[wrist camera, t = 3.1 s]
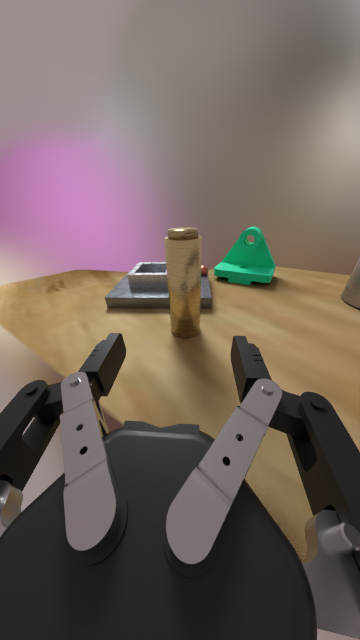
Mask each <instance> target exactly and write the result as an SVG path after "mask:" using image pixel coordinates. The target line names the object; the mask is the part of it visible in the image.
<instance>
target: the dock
mask: <svg viewBox="0 0 360 640" xmlns="http://www.w3.org/2000/svg"><path fill="white" fill-rule="evenodd" d="M105 300H106V304H107V307H108V308H170V306H169V293H168V280H167V267H166V262H146V263H144V262H143V263H138V264H137V265H136V266H135V267H134V268H133V269H132V270H131V271H129V272H128V274H127V275H126V276H125V277H124V278H123V279H122V280H121V281H120V282H119V283H118V284H117V285H116V286H115V287H114V288H113V289H112V290H111V291H110V293H109V294H108V295H107V296H106V297H105ZM211 301H212V296H211V290H210V284H209V277H208V268H207V267H206V266H201V296H200V308H211Z"/></svg>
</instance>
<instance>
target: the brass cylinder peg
mask: <svg viewBox="0 0 360 640" xmlns="http://www.w3.org/2000/svg"><path fill="white" fill-rule="evenodd" d="M164 241H165V254H166V267H167V280H168V293H169V306H170V319H171V331H172V333H173V334H174V335H175V336H177V337H180V338H191V337H194V336H195V335H197V334H198V333H199V330H200V296H201V261H202V237H201V236H198V228H189V227H187V228H172V229H168V237H166V238H164Z"/></svg>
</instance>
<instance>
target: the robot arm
mask: <svg viewBox="0 0 360 640" xmlns="http://www.w3.org/2000/svg"><path fill="white" fill-rule="evenodd" d="M341 297H342V299H343V300H344V301H345V302H347V303H348V304H350V305H352V306H354V307H356V308H359V309H360V259H359V261H358V262H357V265H356V267H355V268H354V270H353V273H352V275H351V276H350V278H349V280H348V283H347V285H346V287H345V289H344V291H343V293H342V295H341ZM125 356H126V348H125V344H124V340H123V337H122V334H120V333H110V334H109V335H108V337H107V338H106V340H102V341H101V342H100V343H98V344H97V345H96V347H95V348H94V350H93V351H92V352H91V354H90V356H89V357H88V358H87V360H86V361H85V363H84V364H83V365H82V367H81V368H80V370H79V371H78V372H75V373H73V374H70V375H69V376H67V377H66V378H65V379H64V380H63V382H61V383H56V384H52V385H47V383H46V382H45V381H43V380H37V381H33V382H31V383H29V384H27V385H26V386H24V387H23V388H22V389H21V390H20V391H19V392H18V394H17V395H16V396H15V397H14V398H13V399H12V400H11V402H10V403H9V404H8V405H7V406H6V407H5V409H4V410H3V411H2V412H1V413H0V640H317V628H318V629H322V630H326V631H330V632H334V633H338V634H342V635H346V636H350V637H354V638H358V639H360V452H359V450H358V448H357V447H356V445H355V443H354V442H353V440H352V438H351V437H350V435H349V433H348V432H347V430H346V428H345V427H344V425H343V423H342V422H341V420H340V418H339V416H338V415H337V413H336V411H335V410H334V408H333V406H332V405H331V403H330V402H329V401H328V400H327V399H325V398H324V397H323V396H321V395H319V394H317V393H314V392H304V393H303V394H302V395H301V396H298V395H295V394H291V393H288V392H285V391H283V390H281V388H280V387H279V385H277V384H276V383H275V382H273V381H272V379H271V377H270V375H269V372H268V370H267V368H266V365H265V363H264V361H263V358H262V356H261V353H260V351H259V349H258V348H257V347H256V346H255V345H254V344H248V342H247V339H246V337H245V336H234V337H233V342H232V348H231V363H232V367H233V372H234V376H235V381H236V386H237V390H238V395H239V400H240V403H242V404H241V405H240V406H237V407H236V409H235V410H234V412H233V413H232V415H231V416H230V418H229V419H228V421H227V422H226V424H225V425H224V427H223V428H222V430H221V432H220V433H219V435H218V436H217V438H216V439H215V440H214V439H213V438H212V437H211V436H209V435H208V434H206V433H204V432H201V431H199V425H191V424H178V425H173V426H168V427H164V428H159V427H156V426H153V425H151V424H148V423H145V422H140V421H125V422H124V426H123V427H120V428H118V429H115V430H113V431H111V432H110V433H109V431H108V429H107V426H106V422H105V419H104V416H103V412H102V409H101V405H100V402H99V399H100V397H101V396H108V394H109V392H110V390H111V388H112V385H113V383H114V381H115V379H116V377H117V374H118V372H119V370H120V368H121V366H122V363H123V361H124V359H125ZM33 417H34V418H35V419H34V420H33V422H32V423H31V425H30V426H29V428H28V429H27V431H26V432H25V433H24V435H23V432H24V430H25V428H26V427H27V426H28V424H29V423H30V421H31V420H32V418H33ZM59 424H61V436H62V446H63V459H64V471H65V473H63V474H62V475H61V477H59V478H58V479H57V480H56V481H55V482H54V483H53V484H52V485H50V486H49V487H48V488H47V489H46V490H45V491H44V492H43V493H42V494H41V495H40V496H39V497H38V498H37V499H35V500H34V501H33V502H32V503H31V504H30V505H29V506H28V507H27V508H26V509H25V510H23V512H21V504H22V501H23V493H22V491H23V489H24V487H25V485H26V483H27V482H28V480H29V478H30V476H31V474H32V473H33V471H34V469H35V467H36V465H37V464H38V462H39V460H40V458H41V456H42V455H43V453H44V451H45V449H46V447H47V446H48V444H49V442H50V440H51V438H52V437H53V435H54V433H55V431H56V429H57V428H58V426H59ZM268 427H271V428H273V429H276V430H279V431H281V432H284V433H286V434H287V437H288V440H289V443H290V446H291V449H292V452H293V455H294V458H295V461H296V464H297V467H298V470H299V473H300V476H301V479H302V482H303V486H304V489H305V492H306V495H307V498H308V501H309V504H310V507H311V510H312V513H313V517H311V518H310V519H309V520H308V521H307V522H306V525H305V538H306V543H307V554H306V558H305V560H304V561H303V562H301V560H300V558H299V556H298V554H297V553H296V551H295V549H294V548H293V546H292V545H291V543H290V542H289V540H288V539H287V537H286V536H285V535H284V533H283V532H282V530H281V529H280V528H279V526H278V525H277V524H276V522H275V521H274V519H273V518H272V517H271V515H270V514H269V512H268V511H267V510H266V508H265V507H264V505H263V504H262V503H261V501H260V500H259V499H258V497H257V496H256V494H255V493H254V492H253V490H252V489H251V487H250V486H249V485H248V483H247V482H246V480H245V479H244V478H245V476H246V474H247V472H248V470H249V467H250V465H251V463H252V461H253V459H254V456H255V454H256V452H257V450H258V448H259V446H260V443H261V441H262V439H263V437H264V435H265V433H266V430H267V428H268ZM22 435H23V436H22Z"/></svg>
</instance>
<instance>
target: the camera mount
mask: <svg viewBox="0 0 360 640" xmlns="http://www.w3.org/2000/svg"><path fill="white" fill-rule="evenodd" d="M248 235H253V236H254V238H255V242H254V243H250V242H248V240H247V236H248ZM274 270H275V263H274V260H273V258H272V255H271V253H270V250H269V248H268V246H267V243H266V240H265V238H264V236H263V233H262V231H261V230H260V229H259V228H257V227H250V228H248V229H247V230H245V231H244V232H243V233H242V234H241V235H240V237H239V239H238V240H237V242H236V243H235V244H234V246H233V247H232V249H231V250H230V251H229V253H228V254H227V255H226V257H225V258H224V259H223V261H222V262H221V263H220V264H218V265H217V266H216V267H215V268H214V275H215V276H219V277H226V278H228V282H233V283H240V284H247V285H250V284H251V282H252V281H255V282H262V283H270V282H271V279H272V276H273V273H274Z"/></svg>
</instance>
